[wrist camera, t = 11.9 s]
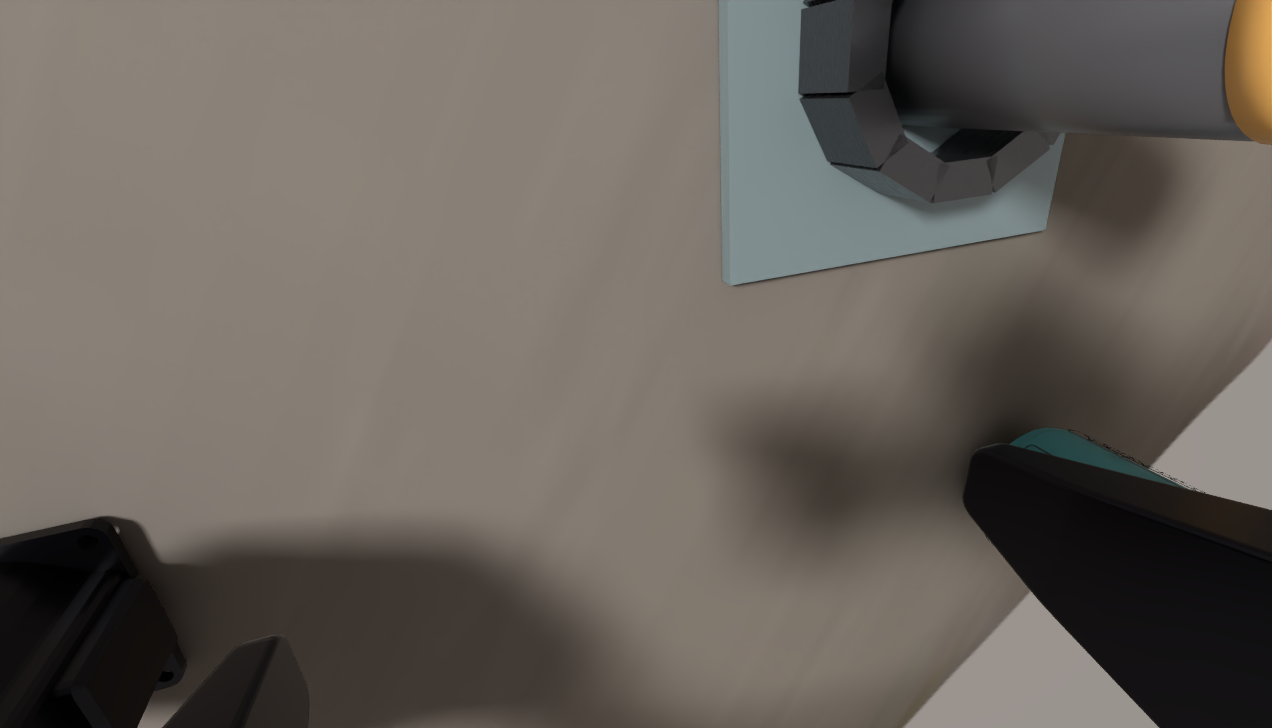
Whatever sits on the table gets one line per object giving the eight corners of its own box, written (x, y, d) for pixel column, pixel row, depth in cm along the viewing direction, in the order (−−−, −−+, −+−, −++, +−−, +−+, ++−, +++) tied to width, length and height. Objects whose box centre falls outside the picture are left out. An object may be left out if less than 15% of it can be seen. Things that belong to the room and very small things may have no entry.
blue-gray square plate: (722, 281, 21) (730, 285, 21) (715, -247, 15) (725, -260, 15) (1032, 227, 25) (1045, 229, 24) (1120, -218, 19) (1140, -227, 19)
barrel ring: (794, 205, 20) (839, 217, 18) (806, -136, 17) (865, -173, 14) (1009, 174, 23) (1071, 182, 21) (1063, -131, 19) (1147, -161, 17)
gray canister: (832, 101, 19) (1434, 97, 8) (895, -80, 18) (1747, -402, 6) (945, 145, 21) (1552, 192, 10) (1009, -14, 20) (1809, -171, 9)
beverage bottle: (933, 456, 28) (1763, 1021, 11) (1046, 381, 29) (2010, 806, 11) (956, 543, 31) (1631, 1090, 14) (1058, 474, 32) (1828, 918, 15)
